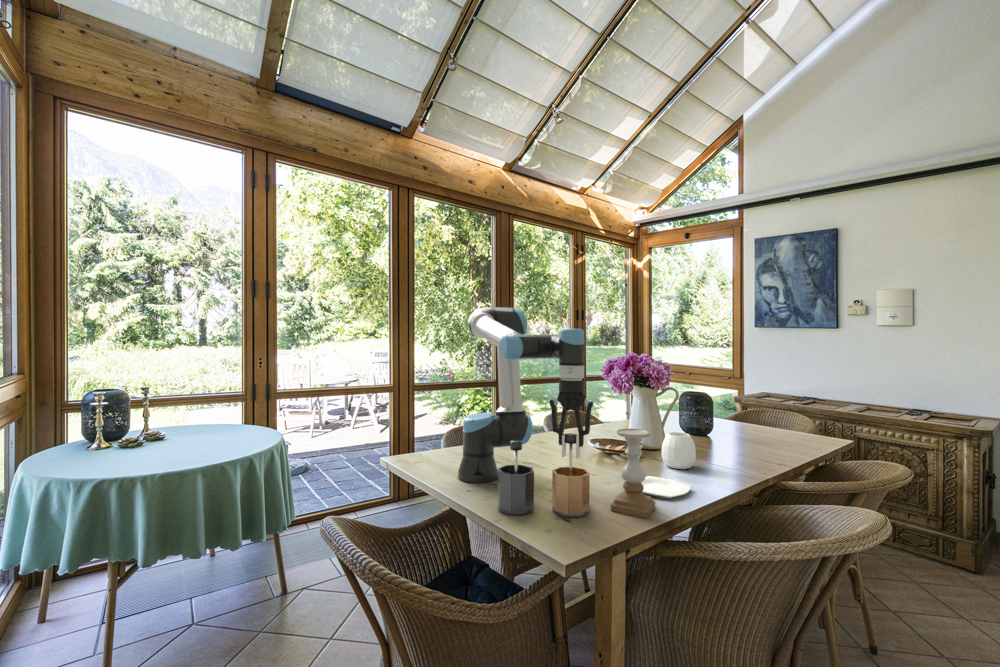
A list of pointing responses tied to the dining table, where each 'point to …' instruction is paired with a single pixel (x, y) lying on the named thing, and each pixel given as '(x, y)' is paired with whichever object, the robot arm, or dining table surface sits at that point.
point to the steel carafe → (515, 490)
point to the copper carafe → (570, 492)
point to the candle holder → (633, 478)
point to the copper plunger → (571, 440)
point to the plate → (664, 487)
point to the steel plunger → (516, 451)
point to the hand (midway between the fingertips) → (570, 456)
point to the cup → (678, 450)
